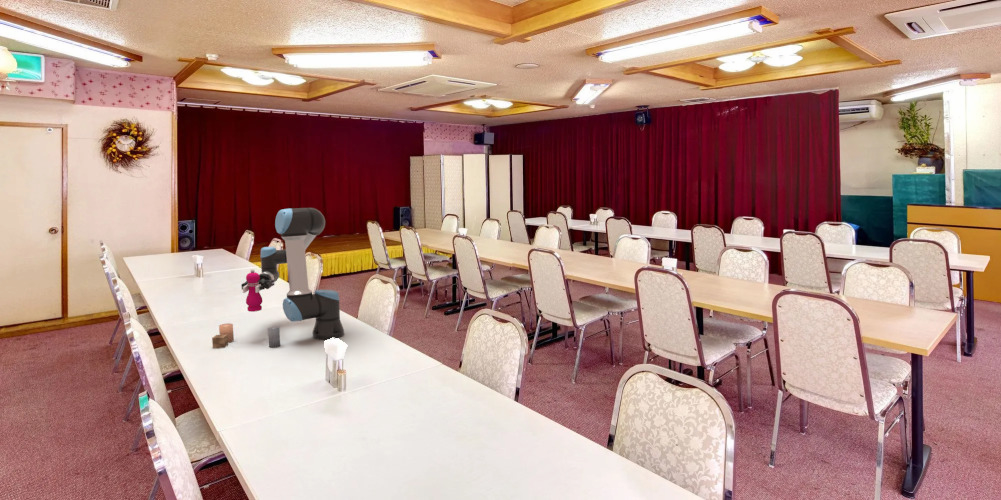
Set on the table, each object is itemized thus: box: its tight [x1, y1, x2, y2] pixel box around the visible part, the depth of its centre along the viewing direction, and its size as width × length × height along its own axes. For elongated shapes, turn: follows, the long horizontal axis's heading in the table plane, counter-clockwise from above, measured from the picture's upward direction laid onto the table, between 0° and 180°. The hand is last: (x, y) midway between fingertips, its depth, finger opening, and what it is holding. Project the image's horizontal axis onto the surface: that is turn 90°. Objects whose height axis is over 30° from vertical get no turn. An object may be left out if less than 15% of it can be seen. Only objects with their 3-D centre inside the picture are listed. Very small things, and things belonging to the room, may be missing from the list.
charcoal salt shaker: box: [267, 325, 281, 349], centre depth 254 cm, size 5×5×9 cm
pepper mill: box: [245, 268, 263, 312], centre depth 257 cm, size 7×7×20 cm
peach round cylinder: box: [218, 323, 235, 344], centre depth 261 cm, size 6×6×8 cm
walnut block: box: [211, 334, 229, 349], centre depth 253 cm, size 5×5×5 cm
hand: (250, 289), depth 252 cm, fingers closed on pepper mill, 5 cm apart
